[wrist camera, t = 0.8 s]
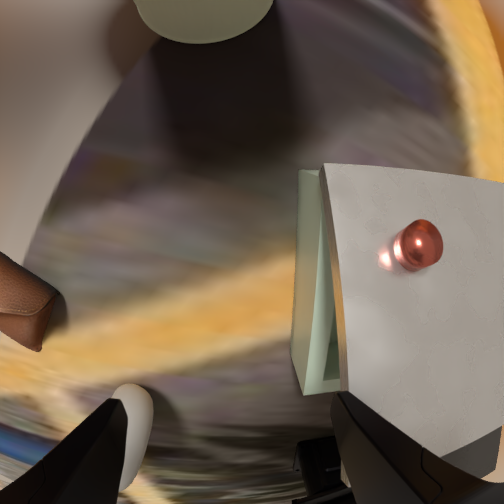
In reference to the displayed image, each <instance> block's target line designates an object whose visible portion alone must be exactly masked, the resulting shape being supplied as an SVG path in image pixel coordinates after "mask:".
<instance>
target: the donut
mask: <svg viewBox="0 0 504 504" xmlns="http://www.w3.org/2000/svg"><path fill="white" fill-rule="evenodd" d="M112 398H116V399H120V400H121V401H122V402H123V405H124V408H125V410H126V413H127V416H128V428H127V438H126V450H125V461H124V467H123V471H122V477H121V482H120V487H119V492H120V491H122V490H124V489H126V488H127V487H128V486H129V485H130V484H131V483H132V482H133V480H134V478H135V477H136V475H137V472H138V470H139V468H140V466H141V463H142V460H143V457H144V454H145V451H146V448H147V444H148V441H149V437H150V433H151V428H152V423H153V415H154V409H153V400H152V398H151V396H150V394H149V393H148V392H147V391H146V390H145V389H143V388H142V387H140V386H138V385H135V384H124V385H122V386H120V387H119V388H118V389H116V391H115V392H114V394H113V396H112Z"/></svg>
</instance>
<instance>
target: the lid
mask: <svg viewBox="0 0 504 504" xmlns="http://www.w3.org/2000/svg"><path fill="white" fill-rule="evenodd" d="M318 175H319V181H320V188H321V194H322V200H323V207H324V214H325V221H326V228H327V236H328V244H329V252H330V260H331V269H332V278H333V288H334V298H335V310H336V322H337V335H338V350H339V368H340V391H345V390H347V391H349V392H351V393H352V394H353V395H354V396H356V397H357V398H358V399H360V400H361V401H362V402H364V403H365V404H366V405H368V406H369V407H370V408H372V409H373V410H374V411H375V412H377V413H378V414H380V415H381V416H382V417H384V418H385V419H386V420H388V421H389V422H390V423H392V424H393V425H394V426H396V427H397V428H398V429H400V430H401V431H403V432H404V433H405V434H407V435H408V436H409V437H411V438H412V439H414V440H415V441H416V442H418V443H419V444H421V445H422V447H425V448H427V449H428V450H429V451H431V452H432V453H434V454H435V455H437V456H438V457H440V458H442V459H443V460H445V461H447V462H448V463H450V464H452V465H454V466H456V467H458V468H460V469H462V470H464V471H466V472H468V473H470V474H472V475H474V476H476V477H478V478H480V479H481V478H483V477H484V476H486V475H488V474H489V473H491V472H492V471H494V470H495V468H496V463H497V456H498V451H499V444H500V437H501V429H502V425H504V183H501V182H495V181H490V180H484V179H478V178H472V177H465V176H459V175H452V174H444V173H437V172H429V171H420V170H411V169H401V168H391V167H379V166H366V165H351V164H332V163H324V164H323V166H322V168H321V169H320V171H319V173H318ZM341 480H342V481H343V482H344V483H345V484H346V486H347V487H348V488H349V487H351V485H350V483H349V480H348V477H347V474H346V471H345V469H344V466H343V463H342V460H341Z"/></svg>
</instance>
